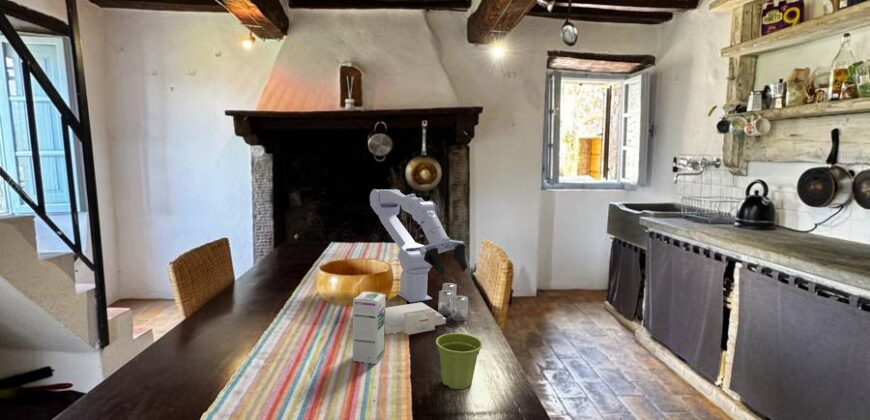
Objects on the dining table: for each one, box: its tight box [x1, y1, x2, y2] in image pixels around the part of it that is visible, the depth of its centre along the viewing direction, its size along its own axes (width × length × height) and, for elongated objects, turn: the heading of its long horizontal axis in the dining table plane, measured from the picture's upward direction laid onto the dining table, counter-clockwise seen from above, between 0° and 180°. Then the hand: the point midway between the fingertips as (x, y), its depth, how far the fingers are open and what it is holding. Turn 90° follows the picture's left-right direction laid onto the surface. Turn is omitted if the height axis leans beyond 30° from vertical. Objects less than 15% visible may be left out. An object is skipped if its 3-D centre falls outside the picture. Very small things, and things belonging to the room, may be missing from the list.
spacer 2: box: [437, 290, 454, 316], centre depth 132 cm, size 4×4×6 cm
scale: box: [385, 301, 447, 336], centre depth 122 cm, size 15×18×5 cm
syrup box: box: [352, 291, 386, 365], centre depth 100 cm, size 6×6×14 cm
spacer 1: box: [441, 282, 458, 296], centre depth 140 cm, size 4×4×6 cm
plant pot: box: [435, 332, 483, 390], centre depth 91 cm, size 9×9×9 cm
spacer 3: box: [451, 295, 469, 322], centre depth 127 cm, size 4×4×6 cm
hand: (454, 271), depth 126 cm, fingers open, 7 cm apart
